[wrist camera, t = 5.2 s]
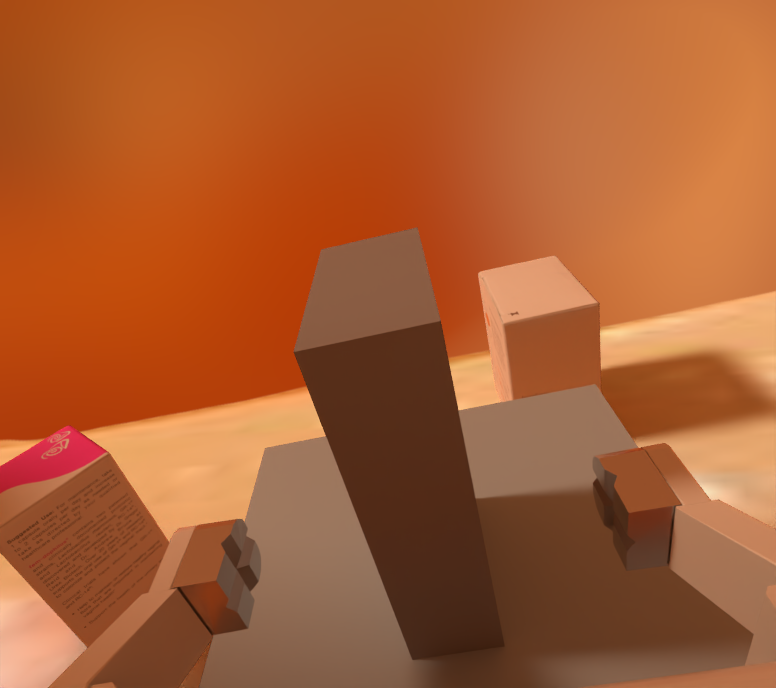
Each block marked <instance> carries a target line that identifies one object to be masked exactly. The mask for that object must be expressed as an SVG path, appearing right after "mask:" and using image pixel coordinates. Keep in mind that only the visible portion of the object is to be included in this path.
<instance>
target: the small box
mask: <svg viewBox="0 0 776 688" xmlns="http://www.w3.org/2000/svg"><path fill="white" fill-rule="evenodd" d="M478 276H479V282H480V289H481V296H482V302H483V309H484V315H485V322H486V328H487V335H488V341H489V348H490V354H491V361H492V368H493V374H494V381H495V387H496V390H497V393H498V396H499V398H500V401H501V402H506V401H511V400H516V399H521V398H526V397H532V396H537V395H542V394H547V393H552V392H557V391H563V390H568V389H573V388H578V387H583V386H588V385H593V384H596V386H597V387H598V388H599V390H600V391H601V358H600V320H599V319H600V315H599V302H598V301H597V300H596V299H595V298H594V297H593V296H592V295H591V294H590V293H589V292H588V290H587V289H586V288H585V287H584V286H583V285H582V284H581V283H580V282H579V281H578V280H577V279H576V277H575V276H574V275H573V274H572V273H571V272H570V271H569V270H568V269H567V268H566V267H565V265H564V264H563V263H562V262H561V261H560V260H559V259H558V258H557V257H556V256H551V257H545V258H541V259H536V260H531V261H527V262H522V263H517V264H513V265H508V266H504V267H499V268H494V269H490V270H485V271H481V272H479V274H478Z"/></svg>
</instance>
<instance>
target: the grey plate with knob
mask: <svg viewBox="0 0 776 688" xmlns="http://www.w3.org/2000/svg"><path fill="white" fill-rule="evenodd" d="M294 354H295V357H296V359H297V362H298V364H299V367H300V370H301V372H302V375H303V378H304V380H305V382H306V385H307V388H308V391H309V393H310V396H311V398H312V401H313V403H314V406H315V409H316V411H317V414H318V416H319V419H320V422H321V424H322V427H323V429H324V432H325V435H326V436H325V437H320V438H315V439H310V440H305V441H300V442H294V443H289V444H284V445H279V446H274V447H269V448H265V451H264V454H263V458H262V461H261V465H260V469H259V472H258V476H257V479H256V483H255V487H254V490H253V494H252V497H251V501H250V505H249V508H248V512H247V516H246V519H245V524H246V526H247V528H248V530H247V534H246V536H247V537H249V538H251V539H253V540H255V542H256V544H257V546H258V547H259V551H260V555H261V573H260V578H259V582H258V583H257V584H256V586H255V587H254V588H253V589H252V591H251V594H252V596H253V598H254V600H255V601H254V606H253V610H252V615H251V619H250V623H249V628H248V629H245V630H239V631H234V632H229V633H223V634H218V635H213V638H212V642H211V646H210V649H209V653H208V656H207V660H206V664H205V667H204V671H203V675H202V678H201V682H200V685H199V688H580V687H588V686H595V685H603V684H610V683H618V682H625V681H633V680H640V679H648V678H655V677H663V676H670V675H678V674H685V673H693V672H700V671H708V670H715V669H723V668H730V667H738V666H745V663H746V660H747V656H748V653H749V649H750V646H751V642H752V639H753V635H754V634H753V633H752V632H750V631H749V630H748V629H746V628H745V627H744V626H743V625H741V624H740V623H739V622H737V621H736V620H735V619H734V618H732V617H731V616H730V615H729V614H727V613H726V612H725V611H723V610H722V609H721V608H720V607H718V606H717V605H716V604H714V603H713V602H712V601H711V600H709V599H708V598H707V597H706V596H704V595H703V594H702V593H700V592H699V591H698V590H697V589H695V588H694V587H693V586H692V585H690V584H689V583H688V582H686V581H685V580H684V579H683V578H681V577H680V576H679V575H677V574H676V573H675V572H674V571H672V570H671V569H670V568H669V566H661V567H653V568H645V569H637V570H629V571H626V569H625V567H624V565H623V563H622V561H621V559H620V557H619V555H618V553H617V551H616V549H615V547H614V545H613V531H612V530H610V529H609V528H607V527H606V526H604V524H603V522H602V520H601V518H600V515H599V513H598V510H597V507H596V504H595V499H594V495H593V482H594V481H595V480H596V478H597V476H596V474H595V473H594V471H593V469H592V464H593V458H594V456H596V455H602V454H607V453H612V452H618V451H623V450H628V449H634V448H638V447H637V445H636V444H635V442H634V441H633V439H632V438H631V436H630V435H629V433H628V432H627V430H626V429H625V427H624V426H623V424H622V423H621V421H620V420H619V418H618V417H617V415H616V414H615V412H614V411H613V409H612V408H611V406H610V405H609V403H608V402H607V400H606V399H605V397H604V396H603V394H602V393H601V391H600V390H599V388H598V387H597V386H596V384H593V385H588V386H583V387H578V388H573V389H568V390H563V391H557V392H552V393H547V394H542V395H537V396H532V397H526V398H521V399H516V400H511V401H506V402H501V403H496V404H490V405H485V406H480V407H475V408H470V409H465V410H459V411H458V406H457V401H456V396H455V391H454V386H453V381H452V376H451V371H450V366H449V361H448V356H447V351H446V345H445V340H444V335H443V330H442V325H441V320H440V316H439V313H438V308H437V304H436V300H435V296H434V292H433V288H432V284H431V280H430V276H429V272H428V268H427V264H426V260H425V256H424V252H423V248H422V244H421V240H420V236H419V232H418V228H413V229H409V230H404V231H400V232H396V233H392V234H387V235H383V236H378V237H374V238H370V239H366V240H361V241H357V242H353V243H348V244H344V245H340V246H335V247H331V248H327V249H322V250H321V253H320V257H319V260H318V264H317V268H316V271H315V275H314V279H313V282H312V286H311V290H310V294H309V297H308V301H307V305H306V308H305V312H304V316H303V319H302V323H301V327H300V331H299V334H298V338H297V342H296V345H295V349H294Z"/></svg>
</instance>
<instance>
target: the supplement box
mask: <svg viewBox="0 0 776 688" xmlns="http://www.w3.org/2000/svg"><path fill="white" fill-rule="evenodd" d="M168 545H169V541H168V540H167V538H166V537H165V535H164V534H163V532H162V531H161V529H160V528H159V526H158V525H157V523H156V521H155V520H154V518H153V517H152V515H151V514H150V513H149V511H148V510H147V508H146V507H145V505H144V504H143V502H142V501H141V499H140V498H139V496H138V495H137V493H136V492H135V490H134V489H133V487H132V486H131V484H130V483H129V481H128V480H127V478H126V477H125V475H124V474H123V472H122V471H121V470H120V468H119V466H118V465H117V463H116V462H115V460H114V459H113V457H112V456H111V454H110V453H109V452H107V451H106V450H105V449H103V448H102V447H100V446H99V445H97V444H96V443H95V442H93V441H92V440H90V439H89V438H87V437H86V436H85V435H83V434H82V433H80V432H79V431H77V430H76V429H75V428H73V427H72V426H66V427H65V428H63V429H61V430H59V431H57V432H56V433H54V434H53V435H51V436H49V437H48V438H46V439H44V440H43V441H41V442H40V443H38V444H36V445H35V446H33V447H31V448H30V449H29V450H27V451H25V452H23V453H22V454H20V455H19V456H17V457H15V458H14V459H12V460H10V461H8V462H7V463H5V464H3V465H2V466H0V553H1V554H2V555H3V556H4V557H5V558H6V559H7V561H8V562H9V563H10V564H11V565H12V566H13V567H14V568H15V569H16V570H17V571H18V573H19V574H20V575H21V576H22V577H23V578H24V579H25V580H26V581H27V582H28V583H29V584H30V586H31V587H32V588H33V589H34V590H35V591H36V592H37V593H38V594H39V595H40V596H41V597H42V599H43V600H44V601H45V602H46V603H47V604H48V605H49V606H50V607H51V608H52V609H53V610H54V612H55V613H56V614H57V615H58V616H59V617H60V618H61V619H62V620H63V621H64V622H65V623H66V625H67V626H68V627H69V628H70V629H71V630H72V631H73V632H74V633H75V634H76V635H77V637H78V638H79V639H80V640H81V641H82V642H83V643H84V644H85V645H86V647H87V648H88V647H89V646H90V645H91V644H92V643H93V642H94V641H96V640H97V639H98V638H99V637H100V636H101V635H102V634H103V633H104V632H105V631H106V630H107V629H108V628H109V627H110V626H111V625H112V624H113V623H114V622H115V621H116V620H117V619H118V618H119V617H120V616H121V615H122V614H123V613H124V612H125V611H126V610H127V609H128V608H129V607H130V606H131V605H132V604H133V603H134V602H135V601H136V600H137V599H138V598H139V597H140V596H141V595H142V594H145V593H148V592H149V590H150V588H151V585H152V583H153V580H154V578H155V576H156V573H157V571H158V569H159V566H160V564H161V562H162V559H163V557H164V555H165V552H166V550H167V548H168Z"/></svg>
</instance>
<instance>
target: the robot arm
mask: <svg viewBox="0 0 776 688" xmlns="http://www.w3.org/2000/svg"><path fill="white" fill-rule="evenodd" d="M592 469H593V471H594V473H595V474H596V476H597V478H596V480H595V481H594V482H593V495H594V499H595V504H596V507H597V510H598V513H599V515H600V518H601V520H602V522H603V524H604V526H606V527H607V528H609V529H610V530H612V531H613V545H614V547H615V549H616V551H617V553H618V555H619V557H620V559H621V561H622V563H623V565H624V567H625V569H626V571H629V570H637V569H645V568H653V567H661V566H669V568H670V569H671V570H672V571H674V572H675V573H676V574H677V575H679V576H680V577H681V578H683V579H684V580H685V581H686V582H688V583H689V584H690V585H692V586H693V587H694V588H695V589H697V590H698V591H699V592H700V593H702V594H703V595H704V596H706V597H707V598H708V599H709V600H711V601H712V602H713V603H714V604H716V605H717V606H718V607H720V608H721V609H722V610H723V611H725V612H726V613H727V614H729V615H730V616H731V617H732V618H734V619H735V620H736V621H737V622H739V623H740V624H741V625H743V626H744V627H745V628H746V629H748V630H749V631H750V632H752V633H753V634H754V635H753V639H752V642H751V646H750V649H749V653H748V656H747V660H746V663H745V666H738V667H730V668H723V669H715V670H708V671H700V672H693V673H685V674H678V675H670V676H663V677H655V678H648V679H640V680H633V681H625V682H618V683H610V684H603V685H595V686H588V687H580V688H776V529H774V528H772V527H771V526H769V525H767V524H765V523H763V522H761V521H759V520H757V519H755V518H753V517H751V516H749V515H747V514H745V513H743V512H742V511H740V510H738V509H736V508H734V507H732V506H730V505H728V504H726V503H724V502H722V501H720V500H712V501H711V500H710V499H709V497H708V496H707V495H706V493H705V492H704V491H703V489H702V488H701V487H700V485H699V484H698V483H697V481H696V480H695V479H694V478H693V476H692V475H691V474H690V472H689V471H688V470H687V468H686V467H685V466H684V464H683V463H682V462H681V460H680V459H679V458H678V457H677V455H676V454H675V453H674V451H673V450H672V449H671V447H670V446H669V445H667V444H665V443H662V444H657V445H651V446H646V447H641V448H634V449H628V450H623V451H618V452H612V453H607V454H602V455H596V456H594V458H593V464H592ZM247 530H248V528H247V526H246V524H245V523H244V521H243V520H242V519H235V520H228V521H222V522H215V523H208V524H201V525H197V526H190V527H184V528H179V529H178V530H177V531H176V532H175V533H174V534H173V536H172V538H171V540H170V543H169V545H168V548H167V550H166V552H165V555H164V557H163V559H162V562H161V564H160V566H159V569H158V571H157V573H156V576H155V578H154V580H153V583H152V585H151V588H150V590H149V592H148V593H145V594H142V595H141V596H140V597H139V598H138V599H137V600H136V601H135V602H134V603H133V604H132V605H131V606H130V607H129V608H128V609H127V610H126V611H125V612H124V613H123V614H122V615H121V616H120V617H119V618H118V619H117V620H116V621H115V622H114V623H113V624H112V625H111V626H110V627H109V628H108V629H107V630H106V631H105V632H104V633H103V634H102V635H101V636H100V637H99V638H98V639H97V640H96V641H94V642H93V643H92V644H91V645H90V646H89V647H88V648H87V649H86V650H85V651H84V652H83V653H82V654H81V655H80V656H79V657H78V658H77V659H76V660H75V661H74V662H73V663H72V664H71V665H70V666H69V667H68V668H67V669H66V670H65V671H64V672H63V673H62V674H61V675H60V676H59V677H58V678H57V679H56V680H55V681H54V682H53V683H52V684H51V685H50V686H49V687H48V688H178V687H179V686H180V685H181V683H182V682H183V680H184V679H185V677H186V676H187V674H188V673H189V672H190V670H191V669H192V667H193V666H194V664H195V663H196V661H197V660H198V659H199V657H200V656H201V654H202V653H203V651H204V650H205V648H206V647H207V646H208V644H209V643H210V641H211V640H212V638H213V636H212V635H218V634H223V633H229V632H234V631H239V630H245V629H248V628H249V623H250V619H251V615H252V610H253V606H254V601H255V600H254V598H253V596H252V594H251V591H252V589H253V588H254V587H255V586H256V584H257V583H258V582H259V578H260V573H261V555H260V551H259V547H258V546H257V544H256V542H255V540H253V539H251V538H249V537H247V536H246V534H247Z"/></svg>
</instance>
